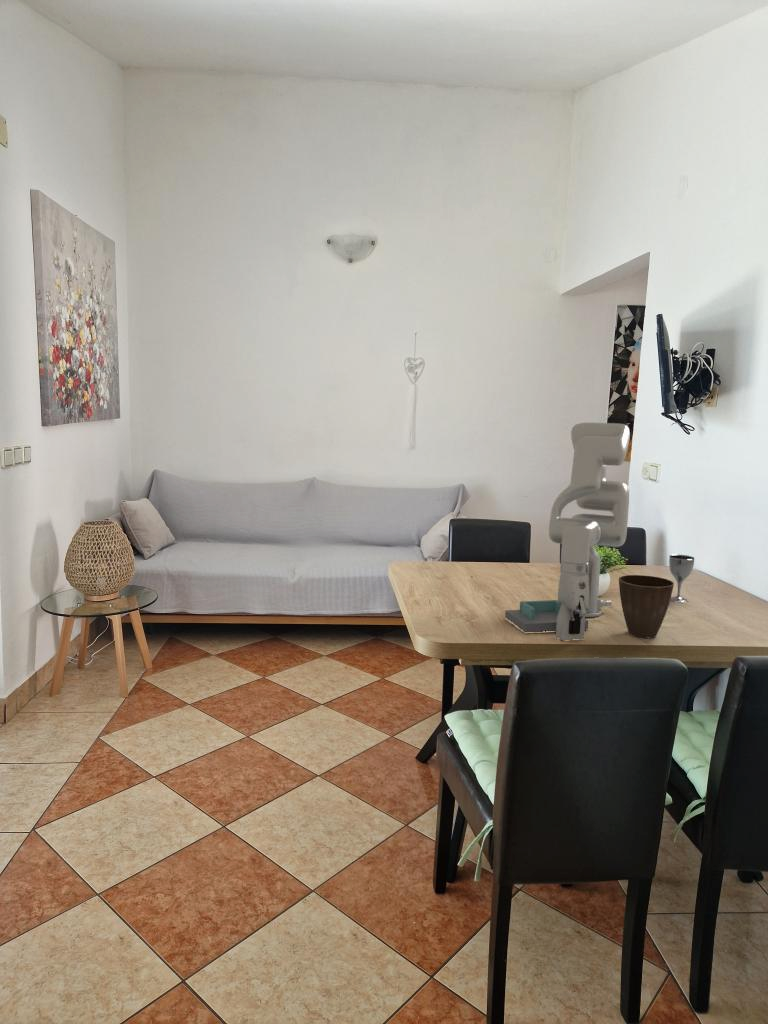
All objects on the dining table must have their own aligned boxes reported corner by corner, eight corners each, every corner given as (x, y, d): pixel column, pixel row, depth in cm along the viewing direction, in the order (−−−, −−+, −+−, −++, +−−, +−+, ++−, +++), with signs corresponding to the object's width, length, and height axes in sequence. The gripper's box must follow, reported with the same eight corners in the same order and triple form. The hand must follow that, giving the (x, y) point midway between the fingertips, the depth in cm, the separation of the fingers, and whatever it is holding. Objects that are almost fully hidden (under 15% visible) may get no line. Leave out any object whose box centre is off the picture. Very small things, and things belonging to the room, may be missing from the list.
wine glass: (664, 600, 249) (668, 557, 247) (667, 595, 256) (670, 553, 254) (689, 603, 246) (693, 560, 243) (691, 598, 253) (695, 556, 250)
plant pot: (605, 633, 210) (609, 579, 208) (629, 623, 221) (633, 572, 219) (655, 646, 200) (659, 589, 198) (678, 635, 210) (682, 581, 208)
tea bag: (583, 639, 204) (586, 605, 203) (562, 641, 202) (564, 606, 201) (576, 635, 208) (579, 601, 206) (555, 637, 206) (557, 603, 204)
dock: (564, 616, 226) (565, 598, 225) (587, 630, 213) (589, 610, 212) (505, 619, 221) (505, 600, 220) (524, 634, 208) (525, 613, 207)
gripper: (602, 574, 195) (597, 640, 197) (571, 561, 211) (567, 622, 213) (577, 575, 193) (572, 641, 196) (548, 561, 209) (544, 623, 212)
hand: (570, 630), depth 204 cm, fingers closed on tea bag, 3 cm apart
